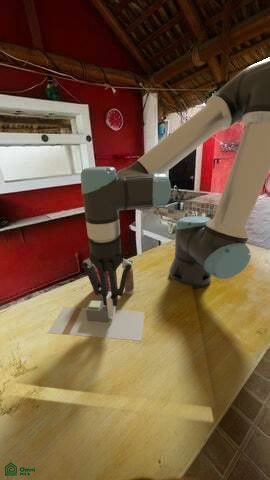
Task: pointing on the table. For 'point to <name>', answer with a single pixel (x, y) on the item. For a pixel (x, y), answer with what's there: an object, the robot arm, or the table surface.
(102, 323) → the board
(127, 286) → the brown rounded cylinder
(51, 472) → the table surface
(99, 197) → the robot arm
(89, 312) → the block
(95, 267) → the soda can
